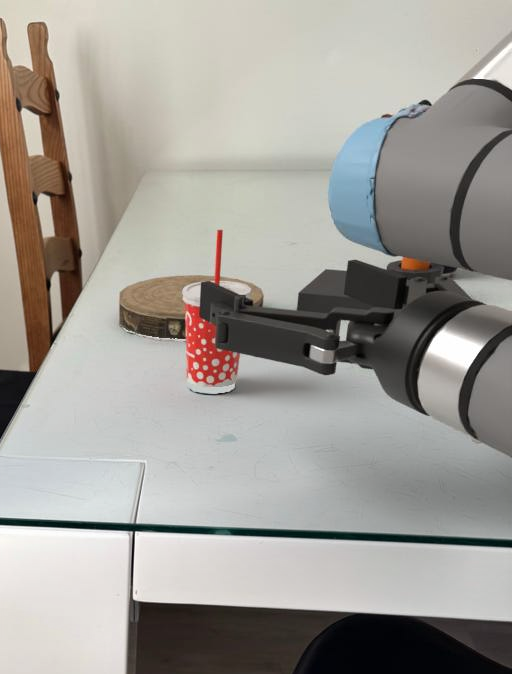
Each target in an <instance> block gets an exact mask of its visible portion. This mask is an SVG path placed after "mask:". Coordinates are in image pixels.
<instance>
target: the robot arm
mask: <svg viewBox="0 0 512 674" xmlns="http://www.w3.org/2000/svg"><path fill="white" fill-rule="evenodd" d="M329 176H330V177H329V182H328V188H327V189H328V190H327V200H328V202H327V203H328V206H329V212H330V217H331V219H332V220H333V224H334V226H335V228H336V230H337V231H338V232H339V233H340V235H342V236H343V237H344V238H345V239H347V240H348V241H350V242H351V243H354V244H357V245H360V246H362V247H366V248H368V249H372V250H374V251H377V252H380V253H383V254H384V255H386V256H389V257H394V258H396V257H401V258H403V257H406V258H411V259H416V260H421V261H426V262H431V263H436V264H441V265H446V266H450V267H455V268H457V269H461V270H465V271H470V272H471V273H473V272H474V273H479V274H482V275H486V276H491V277H494V278H500V279H504V280H509V281H512V30H511V31H510V32H509V33H507V34H506V35H505V36H504V37H503V38H502V39H501V40H500V41H499V42H497V44H496V45H495V46H494V47H492V49H490V50H489V51H488V52H487V53H486V54H485V55H484V56H483V57H482V58H481V59H480V60H479V61H478V62H477V63H475V64H474V65H473V66H472V67H471V68H470V69H469V70H468V71H467V72H466V73H465V74H464V75H463V76H462V77H461V78H459V79H458V80H457V81H456V82H455V83H454V84H453V85H452V86H451V87H450V88H449V89H448V90H447V92H446V93H444V94H443V95H441V97H439V98H438V99H437V100H435V102H434V103H433V104H432V106H431V107H430V108H429V109H428V110H427V111H426V112H425V113H424V114H422V115H421V116H419V117H417V118H409V116H408V115H403V114H401V115H396V116H394V117H393V118H381V117H376V118H375V119H374V118H373V119H371V120H370V121H365V122H364V123H362V124H361V125H360V126H359V127H357V128H356V129H355V130H354V131H353V132H352V133H351V134H350V135H349V136H348V137H347V139H346V140H345V142H344V143H343V145H342V147H341V149H340V150H339V152H338V153H337V155H336V158H335V160H334V162H333V166H332V169H331V172H330V175H329ZM346 265H347V267H346V271H347V273H346V280H345V288H344V295H347V296H349V297H352V298H354V299H357V300H360V301H362V302H365V303H367V304H370V305H372V306H375V307H374V308H372V309H370V310H361V309H351V308H341V307H337V308H334V309H333V310H332V311H331V312H330V313H317V312H307V311H297V309H294V310H293V309H285V308H278V307H277V308H276V307H267V306H263V307H257V306H253V300H251V299H249V298H246V295H240V294H237V293H235V292H233V291H231V290H229V289H226V288H224V287H222V286H220V285H217V284H215V283H213V282H211V281H206V282H201V291H200V310H199V317H200V318H202V319H204V320H206V321H208V322H210V323H211V324H213V325H215V326H216V334H215V348H217V349H221V350H226V351H231V352H236V353H240V355H245V356H249V357H250V356H251V357H253V358H260V359H264V360H269V361H272V362H273V361H274V362H278V363H283V364H288V365H293V366H295V367H296V366H297V367H302V368H305V369H307V370H310V371H312V372H314V373H317V374H319V375H322V376H330V375H334V374H336V371H337V363H346V364H353V365H358V366H359V367H360V368H361V369H365V370H373V372H374V374H375V376H376V378H377V379H378V382H379V384H380V386H381V388H382V390H383V391H384V393H386V395H387V396H388V397H389V398H391V399H392V400H393V401H395V402H397V403H399V404H401V405H404V406H405V407H407V408H410V409H412V410H414V411H416V412H418V413H420V414H422V415H423V416H427V417H431V418H432V419H434V420H436V421H438V422H440V423H442V424H445V425H446V426H448V427H451V428H452V429H455V430H456V431H458V432H461V433H462V434H464V435H467V436H469V437H471V441H472V442H473V443H475V444H484V445H486V446H488V447H490V448H492V449H494V450H496V451H498V452H500V453H501V454H504V455H505V456H508V457H510V458H512V310H509V309H506V308H504V307H500V306H497V305H492V304H487V303H484V302H482V301H479V300H476V299H473V298H471V296H470V295H469V294H468V293H467V292H466V291H465V290H464V289H463V288H462V287H461V286H460V285H459V284H458V283H457V282H456V281H455V280H454V279H453V277H450V276H449V277H448V276H440V277H436V278H435V283H432V284H427V279H425V278H422V277H416V278H412V279H410V280H407V277H406V276H403V275H400V274H397V273H394V272H391V271H388V270H386V269H385V268H382V267H379V266H376V265H373V264H371V263H367V262H364V261H362V260H358V259H350V260H349V259H348V260H347V264H346ZM403 304H405V305H406V306H405V307H404V308H402V306H403ZM342 321H348V323H347V329H346V336H345V340H341V336H340V330H341V325H342V324H341V323H342Z"/></svg>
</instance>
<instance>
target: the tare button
mask: <svg viewBox="0 0 512 674" xmlns="http://www.w3.org/2000/svg"><path fill="white" fill-rule="evenodd" d="M401 260H402V264H401V268H404V269H409V270H426V269H429V266H430V262H426V261H421V260H416V259H411V258H406V257H401Z"/></svg>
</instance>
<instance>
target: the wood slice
mask: <svg viewBox="0 0 512 674" xmlns="http://www.w3.org/2000/svg"><path fill="white" fill-rule="evenodd" d="M204 281H215V275H202V274H201V275H200V274H195V275H194V274H193V275H192V274H191V275H189V274H188V275H172V276H171V275H170V276H163V277H162V276H161V277H155V278H151V279H145V280H140V281H138V282H135V283H132V284H130V285H126V286H125V287H124V288H123V289H122V290H120V291H119V297H118V299H119V300H118V301H119V302H118V303H119V304H118V305H119V307H118V309H119V311H118V312H119V313H118V314H119V315H118V316H119V319H118V320H119V321H118V322H119V323H118V325H121V326H122V327H123V328H125V329H126V330H128V331H132V332H135V333H137V334H141V335H146V336H152V337H159V338H170V339H172V338H173V339H175V338H177V339H186V321H185V302H184V301H183V294H182V290H183V288H184V287H185V286H187V285H190V284H193V283H198V282H204ZM220 281H231V282H238V283H242V284H245V285H248V286H249V287H250V288H251V293H250V299H251V300H253V306H257V307H264V296H265V295H264V292H263V289H262V288H261V287H260V286H258V285H255V284H254V283H252V282H249V281H245V280H242V279H238V278H232V277H227V276H226V277H225V276H220ZM123 328H122V329H123Z"/></svg>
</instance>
